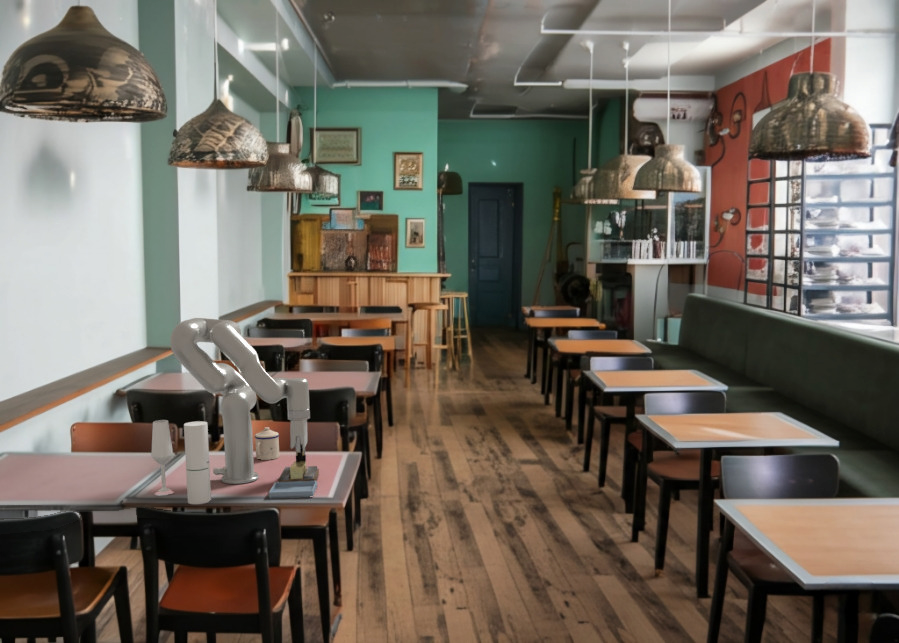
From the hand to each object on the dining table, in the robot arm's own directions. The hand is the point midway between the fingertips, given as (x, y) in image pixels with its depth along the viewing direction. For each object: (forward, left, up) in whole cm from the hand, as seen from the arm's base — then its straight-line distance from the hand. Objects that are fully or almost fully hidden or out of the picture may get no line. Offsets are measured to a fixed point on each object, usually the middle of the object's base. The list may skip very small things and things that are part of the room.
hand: (301, 466), depth 297 cm
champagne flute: (-43, -13, -4) cm, 45 cm away
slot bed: (0, -4, -4) cm, 6 cm away
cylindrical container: (-29, -23, -4) cm, 37 cm away
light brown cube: (0, -4, -2) cm, 4 cm away
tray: (0, -17, -4) cm, 18 cm away
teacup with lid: (-18, +30, -4) cm, 35 cm away
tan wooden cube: (0, -8, -2) cm, 8 cm away
